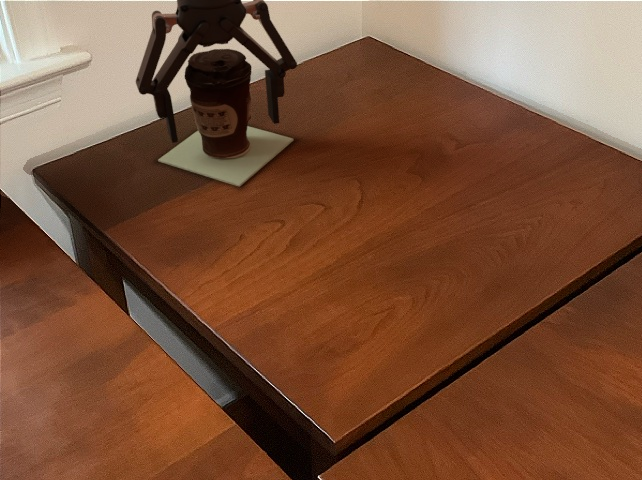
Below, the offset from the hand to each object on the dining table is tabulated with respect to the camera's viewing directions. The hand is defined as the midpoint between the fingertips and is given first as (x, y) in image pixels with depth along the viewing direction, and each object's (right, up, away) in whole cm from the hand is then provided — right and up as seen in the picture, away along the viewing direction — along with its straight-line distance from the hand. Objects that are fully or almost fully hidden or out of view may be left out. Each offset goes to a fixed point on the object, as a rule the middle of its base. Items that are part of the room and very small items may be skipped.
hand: (224, 128), depth 108 cm
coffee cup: (0, -3, +2) cm, 3 cm away
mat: (0, -3, +2) cm, 3 cm away
